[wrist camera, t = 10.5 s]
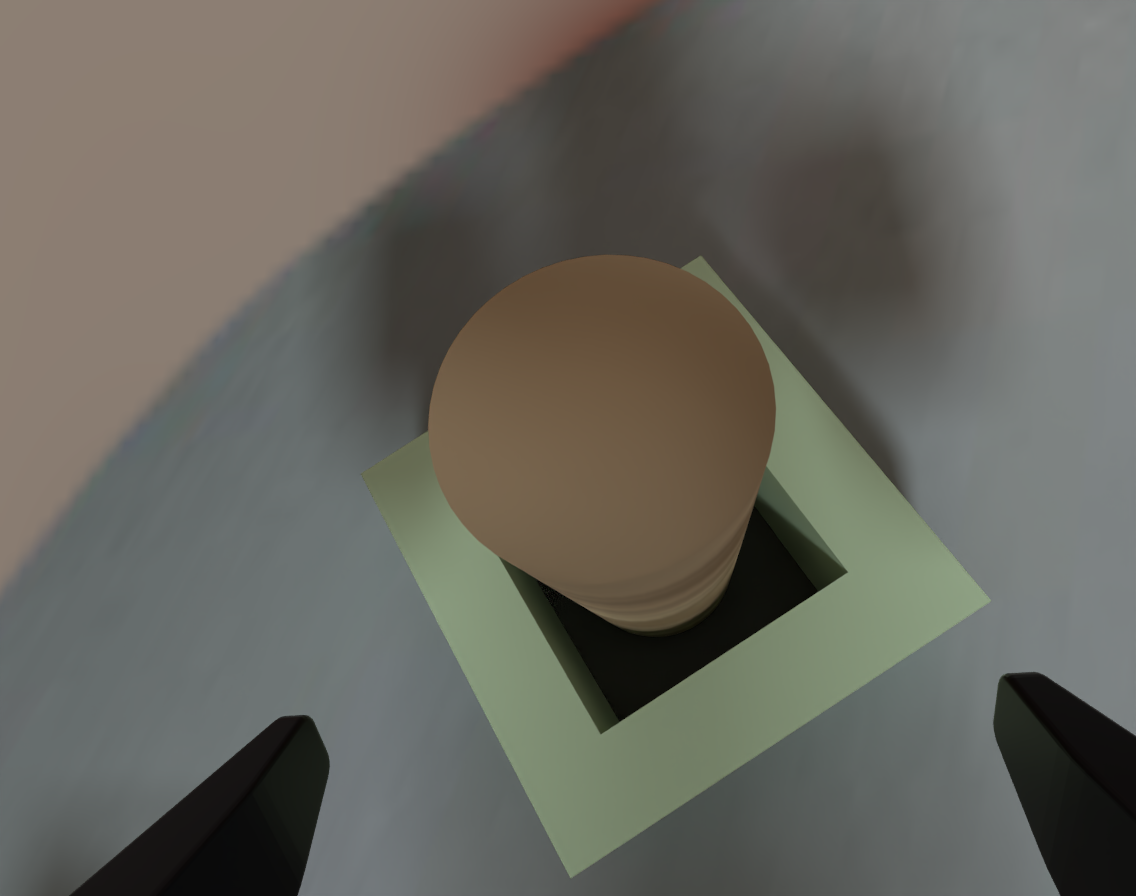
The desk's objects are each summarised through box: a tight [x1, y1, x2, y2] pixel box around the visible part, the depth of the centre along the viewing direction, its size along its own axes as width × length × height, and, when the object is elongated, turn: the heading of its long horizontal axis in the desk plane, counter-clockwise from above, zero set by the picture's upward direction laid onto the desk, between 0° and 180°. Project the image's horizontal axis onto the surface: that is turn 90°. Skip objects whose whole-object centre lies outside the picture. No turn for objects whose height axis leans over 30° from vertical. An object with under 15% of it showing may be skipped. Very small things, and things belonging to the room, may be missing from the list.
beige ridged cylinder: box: [428, 255, 776, 637], centre depth 15 cm, size 4×4×12 cm
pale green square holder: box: [361, 256, 991, 879], centre depth 18 cm, size 10×10×4 cm
